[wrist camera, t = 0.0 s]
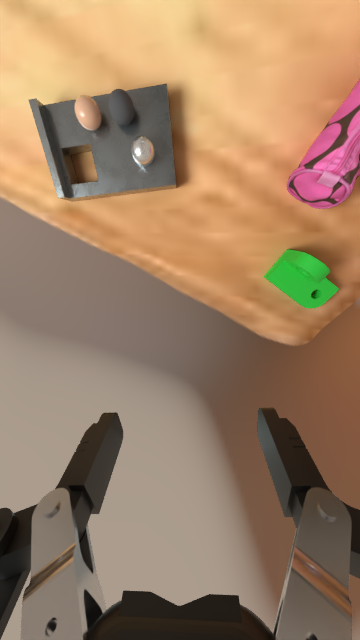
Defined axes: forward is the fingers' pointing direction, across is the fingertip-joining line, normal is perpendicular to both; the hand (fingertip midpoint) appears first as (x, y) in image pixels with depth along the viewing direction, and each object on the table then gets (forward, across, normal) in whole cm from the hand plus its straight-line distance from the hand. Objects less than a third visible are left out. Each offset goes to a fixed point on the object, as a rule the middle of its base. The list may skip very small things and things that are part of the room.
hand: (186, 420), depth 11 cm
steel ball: (+26, +5, -20) cm, 34 cm away
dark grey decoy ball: (+26, +7, -25) cm, 37 cm away
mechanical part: (+31, -21, +1) cm, 37 cm away
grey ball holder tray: (+30, +10, -22) cm, 39 cm away
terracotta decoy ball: (+26, +11, -25) cm, 38 cm away
